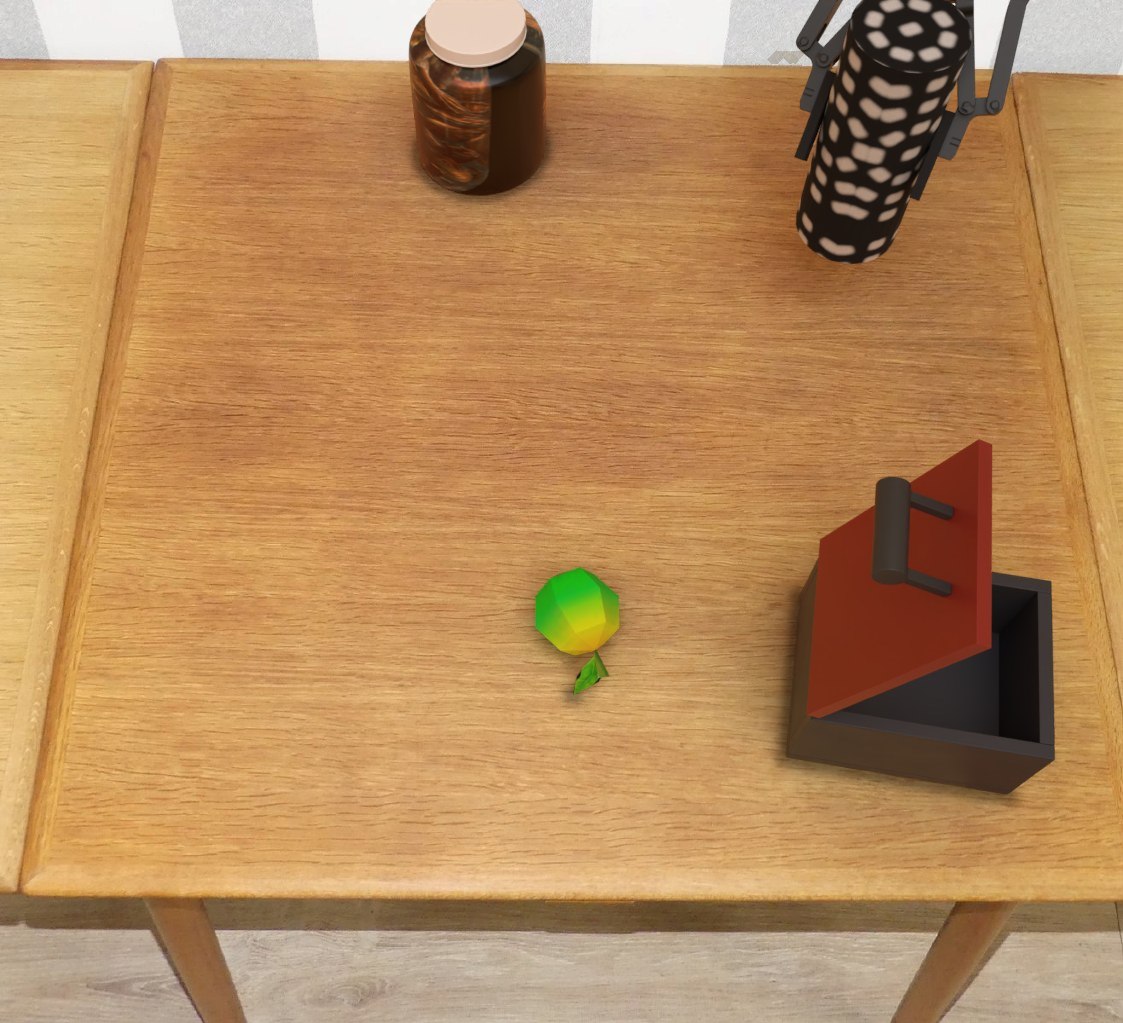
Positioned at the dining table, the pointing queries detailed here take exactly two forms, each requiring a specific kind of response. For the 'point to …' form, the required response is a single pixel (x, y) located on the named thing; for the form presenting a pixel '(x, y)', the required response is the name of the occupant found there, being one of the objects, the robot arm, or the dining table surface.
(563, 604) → the apple
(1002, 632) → the dark storage box
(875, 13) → the spotted tube
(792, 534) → the dining table surface
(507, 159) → the jar
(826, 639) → the lid
